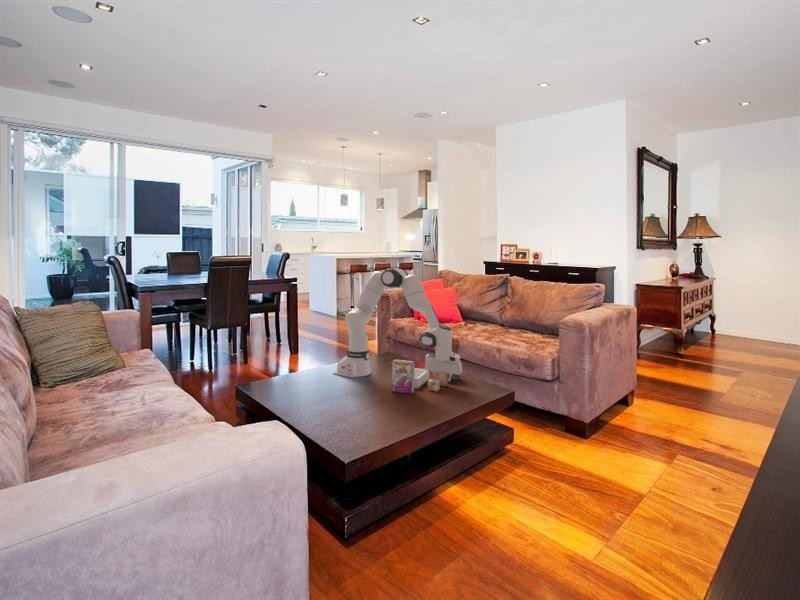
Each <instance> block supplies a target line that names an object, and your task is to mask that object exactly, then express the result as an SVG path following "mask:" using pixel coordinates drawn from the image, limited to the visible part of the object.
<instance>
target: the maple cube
mask: <svg viewBox="0 0 800 600" xmlns="http://www.w3.org/2000/svg"><path fill="white" fill-rule="evenodd" d="M440 387H441V386H440V380H439V379H436V378H429V380H428V381H427V391H433V392H438V391H439V390H440Z"/></svg>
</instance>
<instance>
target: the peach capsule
mask: <svg viewBox="0 0 800 600" xmlns="http://www.w3.org/2000/svg"><path fill="white" fill-rule="evenodd" d="M437 376H438V379H439V380H440V387H447V386H448V382H449V381H447V378H448V373H440V372H437Z"/></svg>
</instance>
